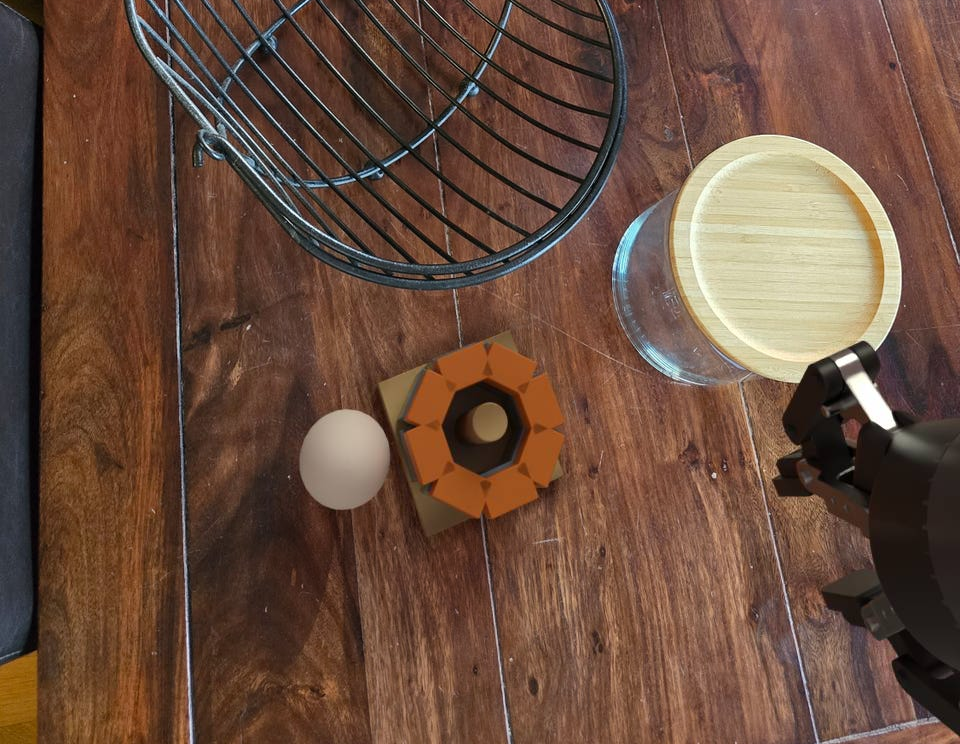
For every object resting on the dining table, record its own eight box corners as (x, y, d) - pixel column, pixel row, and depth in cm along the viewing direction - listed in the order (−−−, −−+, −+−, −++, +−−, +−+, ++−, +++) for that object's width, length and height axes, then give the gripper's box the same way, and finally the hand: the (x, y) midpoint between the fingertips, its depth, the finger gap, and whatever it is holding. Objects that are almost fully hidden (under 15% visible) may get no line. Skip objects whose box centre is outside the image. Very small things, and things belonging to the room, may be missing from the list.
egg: (402, 449, 71) (414, 444, 64) (349, 529, 68) (355, 532, 62) (335, 394, 72) (340, 384, 65) (280, 471, 69) (280, 468, 63)
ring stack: (560, 475, 71) (594, 473, 63) (425, 537, 69) (443, 542, 61) (506, 332, 75) (532, 312, 67) (376, 384, 72) (387, 371, 64)
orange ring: (578, 476, 67) (586, 476, 65) (437, 541, 64) (442, 542, 62) (521, 326, 70) (527, 322, 68) (386, 382, 67) (388, 378, 66)
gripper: (832, 355, 36) (670, 398, 51) (1091, 896, 30) (823, 763, 45) (1020, 270, 38) (811, 335, 53) (1293, 759, 32) (974, 676, 47)
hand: (818, 532), depth 49 cm, fingers open, 4 cm apart
